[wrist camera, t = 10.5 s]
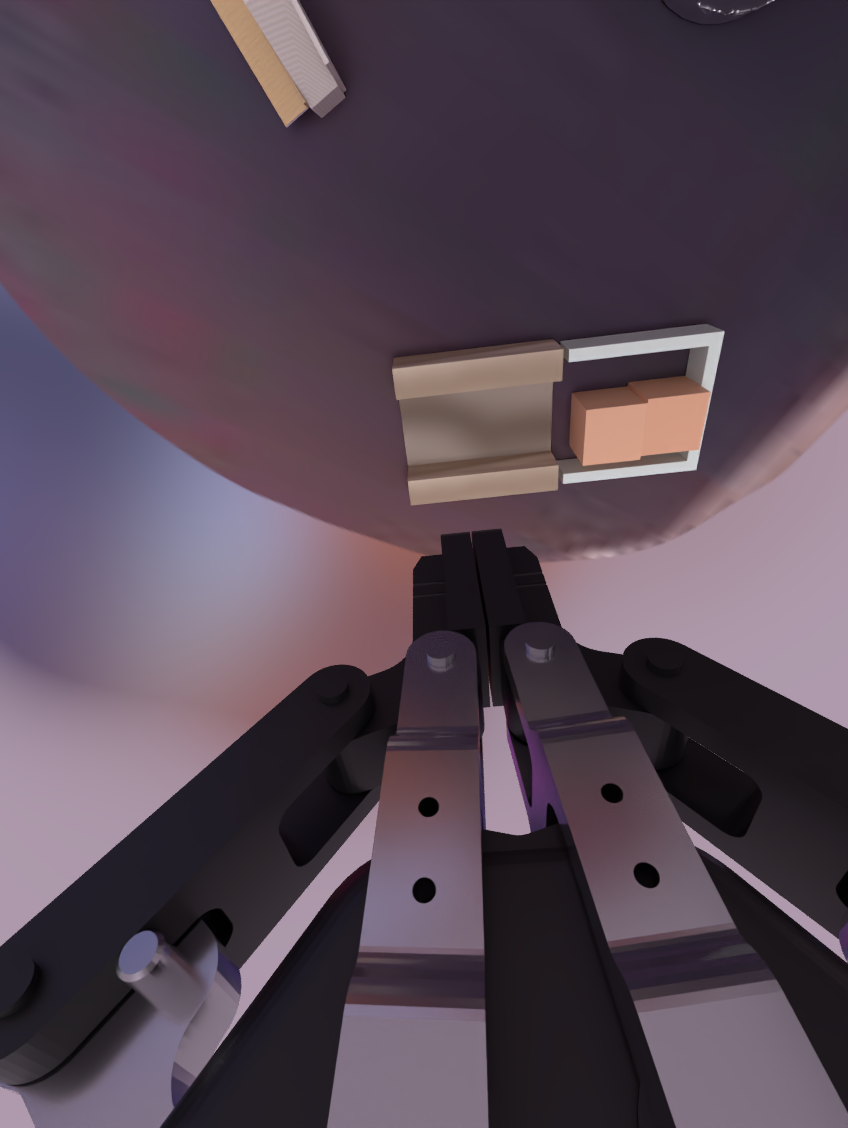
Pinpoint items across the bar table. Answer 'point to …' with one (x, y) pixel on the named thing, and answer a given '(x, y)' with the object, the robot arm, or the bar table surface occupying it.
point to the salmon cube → (672, 414)
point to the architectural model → (284, 55)
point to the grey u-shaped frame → (696, 337)
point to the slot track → (479, 420)
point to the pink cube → (607, 425)
